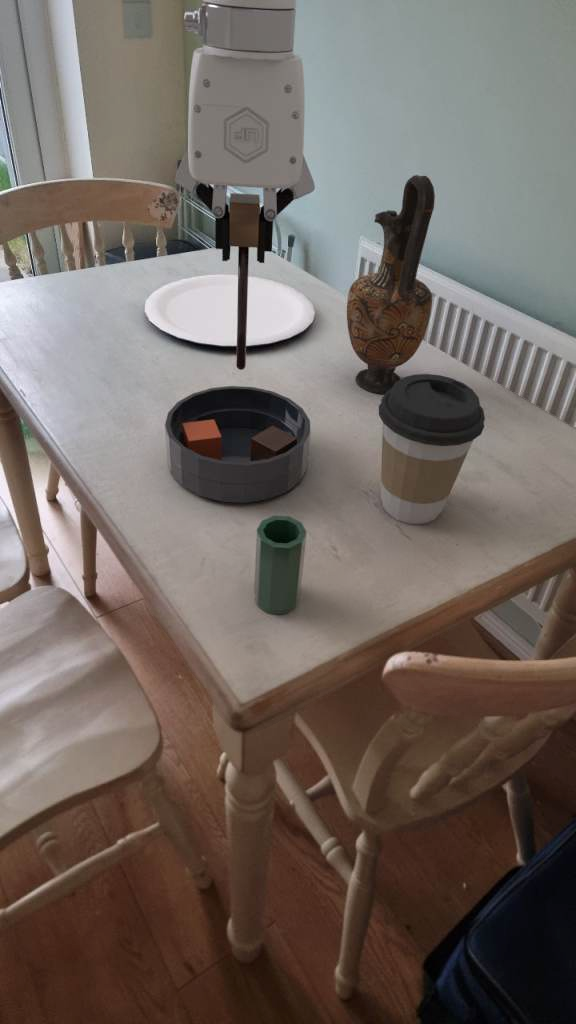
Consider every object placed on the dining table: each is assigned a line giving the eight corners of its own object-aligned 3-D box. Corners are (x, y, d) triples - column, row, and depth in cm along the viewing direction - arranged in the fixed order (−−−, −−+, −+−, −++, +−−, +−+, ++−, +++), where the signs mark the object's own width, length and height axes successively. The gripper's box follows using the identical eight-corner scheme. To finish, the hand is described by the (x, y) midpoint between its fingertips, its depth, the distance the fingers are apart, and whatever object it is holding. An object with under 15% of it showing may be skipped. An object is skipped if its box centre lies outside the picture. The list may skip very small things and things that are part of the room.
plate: (184, 368, 104) (183, 358, 103) (121, 295, 124) (120, 286, 122) (346, 336, 116) (347, 326, 115) (266, 274, 135) (266, 265, 134)
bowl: (143, 485, 82) (139, 443, 78) (202, 414, 95) (201, 375, 91) (281, 521, 79) (284, 479, 75) (322, 442, 91) (326, 403, 88)
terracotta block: (183, 449, 87) (182, 422, 85) (214, 445, 88) (214, 419, 86) (189, 468, 84) (188, 441, 82) (221, 463, 85) (221, 436, 83)
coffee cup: (478, 513, 82) (512, 403, 72) (412, 550, 76) (440, 436, 67) (409, 466, 88) (431, 359, 79) (343, 497, 83) (359, 386, 73)
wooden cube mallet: (227, 373, 75) (229, 202, 64) (228, 359, 77) (230, 192, 66) (253, 374, 75) (259, 204, 64) (253, 360, 78) (259, 194, 67)
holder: (248, 608, 68) (250, 540, 62) (263, 577, 72) (267, 510, 66) (290, 620, 67) (296, 553, 62) (304, 588, 71) (311, 521, 65)
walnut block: (250, 464, 86) (250, 437, 83) (271, 451, 88) (272, 425, 85) (274, 478, 84) (276, 451, 81) (295, 464, 86) (297, 437, 84)
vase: (400, 362, 110) (437, 156, 91) (429, 403, 101) (477, 182, 82) (329, 366, 108) (352, 155, 89) (352, 408, 99) (383, 182, 79)
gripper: (143, 30, 54) (156, 267, 65) (351, 45, 55) (328, 275, 66) (153, 21, 59) (164, 240, 71) (342, 35, 60) (322, 248, 72)
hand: (243, 255), depth 69 cm, fingers closed on wooden cube mallet, 2 cm apart
